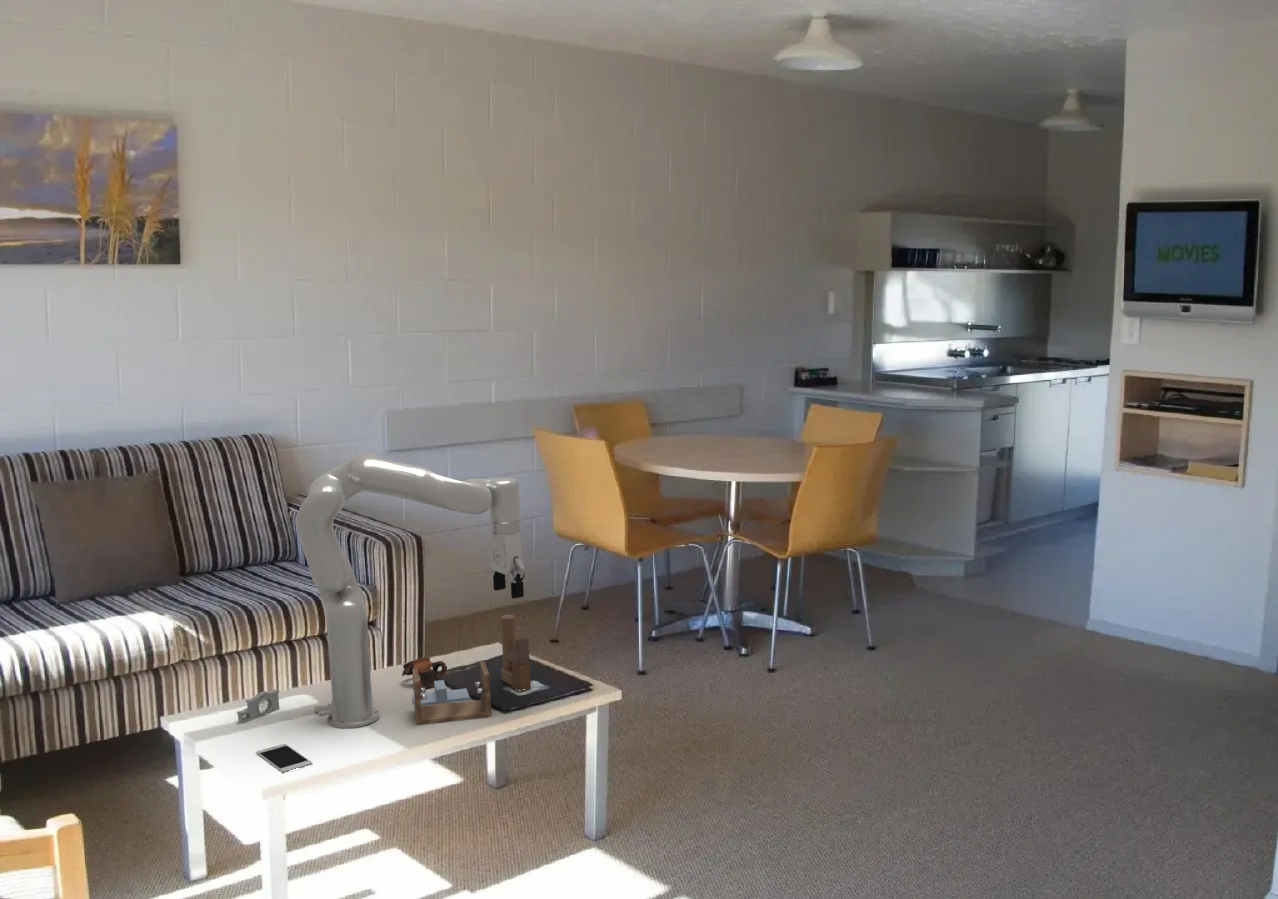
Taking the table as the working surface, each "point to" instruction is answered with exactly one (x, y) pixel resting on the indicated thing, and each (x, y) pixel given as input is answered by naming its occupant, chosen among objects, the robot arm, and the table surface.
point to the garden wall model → (254, 703)
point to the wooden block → (514, 656)
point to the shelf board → (444, 695)
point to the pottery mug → (425, 671)
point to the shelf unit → (453, 709)
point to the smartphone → (284, 758)
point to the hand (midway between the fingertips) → (508, 593)
